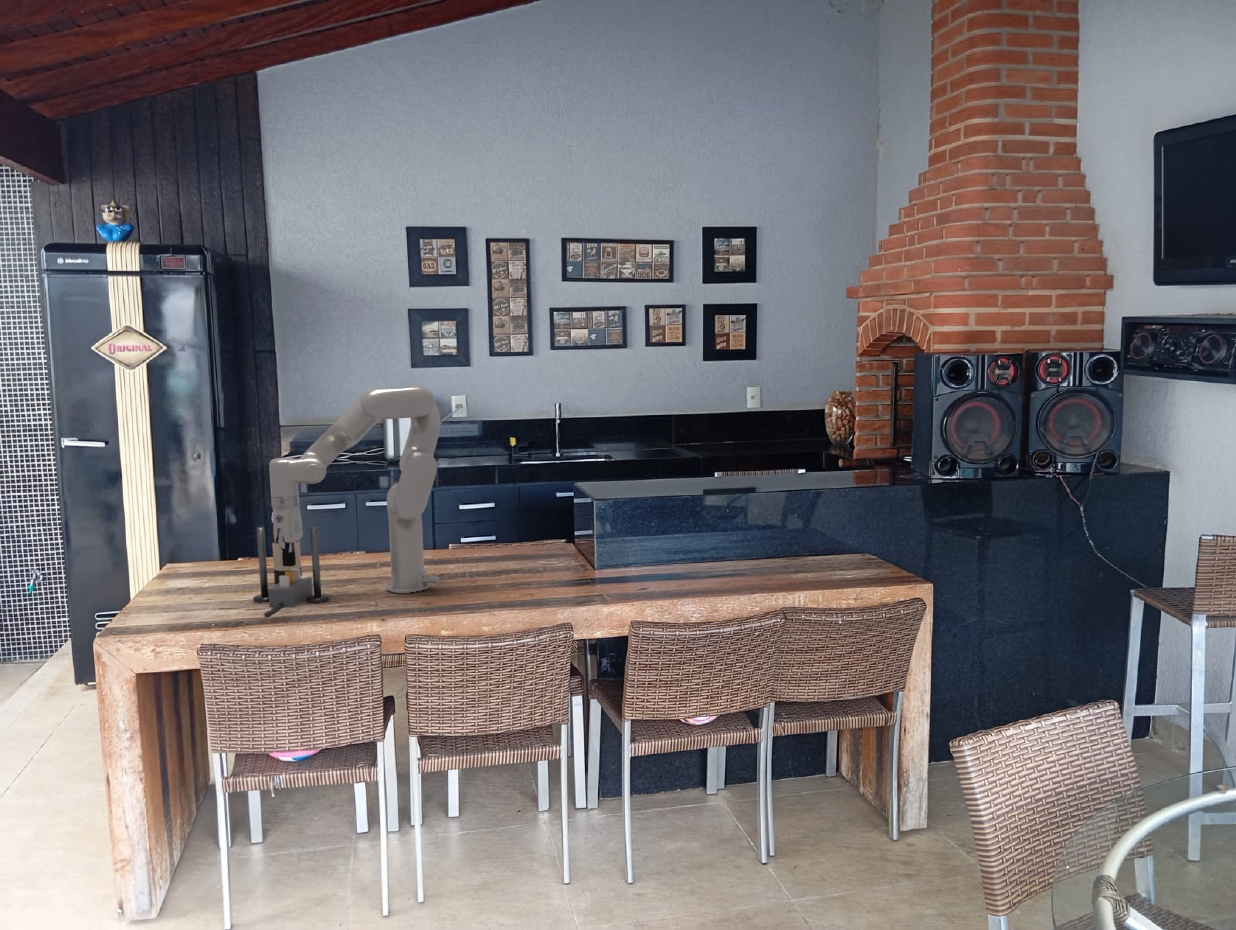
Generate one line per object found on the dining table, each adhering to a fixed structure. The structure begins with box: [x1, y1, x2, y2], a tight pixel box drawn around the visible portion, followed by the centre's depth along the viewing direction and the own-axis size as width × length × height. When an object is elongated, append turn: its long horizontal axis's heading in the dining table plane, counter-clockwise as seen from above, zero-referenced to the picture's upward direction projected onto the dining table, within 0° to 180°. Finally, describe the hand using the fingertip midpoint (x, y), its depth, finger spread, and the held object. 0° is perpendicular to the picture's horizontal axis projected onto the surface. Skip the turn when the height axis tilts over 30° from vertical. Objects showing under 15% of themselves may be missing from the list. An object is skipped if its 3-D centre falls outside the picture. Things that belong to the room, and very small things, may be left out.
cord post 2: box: [305, 526, 331, 604], centre depth 305 cm, size 6×6×21 cm
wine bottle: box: [271, 526, 303, 584], centre depth 328 cm, size 8×8×30 cm
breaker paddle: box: [285, 571, 295, 583], centre depth 306 cm, size 2×1×3 cm, turn 84°
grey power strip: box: [263, 569, 314, 618], centre depth 302 cm, size 7×24×8 cm, turn 174°
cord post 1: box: [252, 526, 269, 603], centre depth 306 cm, size 6×6×21 cm
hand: (289, 565), depth 306 cm, fingers closed
